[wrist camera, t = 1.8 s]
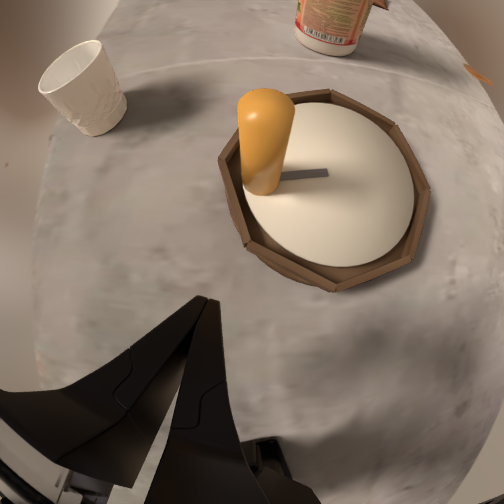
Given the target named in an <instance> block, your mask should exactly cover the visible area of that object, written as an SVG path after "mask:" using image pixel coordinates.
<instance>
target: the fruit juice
mask: <svg viewBox="0 0 504 504" xmlns="http://www.w3.org/2000/svg"><path fill="white" fill-rule="evenodd" d="M373 1H374V0H299V1H298V8H297V15H296V21H295V36H296V38H297V40H298V41H299V42H300V43H301V44H303V45H304V46H306V47H307V48H309V49H311V50H313V51H316V52H319V53H322V54H326V55H332V56H345V55H349V54H351V53H352V52H353V51H354V50H355V49H356V47H357V45H358V42H359V39H360V37H361V34H362V31H363V29H364V26H365V23H366V21H367V18H368V15H369V13H370V10H371V7H372V4H373Z"/></svg>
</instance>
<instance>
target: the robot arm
mask: <svg viewBox="0 0 504 504" xmlns="http://www.w3.org/2000/svg"><path fill="white" fill-rule="evenodd" d="M179 386H180V388H179ZM178 388H179V392H178V397H177V401H176V405H175V409H174V414H173V418H172V422H171V427H170V432H169V436H168V440H167V443H166V446H165V449H164V452H163V454H162V457H161V459H160V462H159V465H158V467H157V470H156V473H155V475H154V478H153V481H152V483H151V486H150V489H149V491H148V494H147V497H146V499H145V502H144V504H321V502H320V501H319V499H318V498H317V497H316V495H315V494H314V492H313V491H312V489H311V488H309V487H307V486H305V485H303V484H300V483H298V482H296V481H294V480H293V479H292V476H291V474H290V471H289V469H288V466H287V463H286V461H285V458H284V456H283V453H282V451H281V448H280V445H279V443H278V440H277V438H275V437H269V438H266V439H262V440H258V441H249V442H245V443H240V441H239V437H238V434H237V431H236V427H235V424H234V420H233V416H232V412H231V408H230V403H229V396H228V389H227V381H226V370H225V359H224V348H223V336H222V323H221V310H220V302H219V301H217V300H214V299H208V298H207V297H203V296H200V295H197V296H195V297H194V298H193V299H192V300H190V301H189V302H188V303H186V304H185V305H184V306H182V307H181V308H180V309H179V310H177V311H176V312H175V313H173V314H172V315H171V316H169V317H168V318H167V319H166V320H164V321H163V322H162V323H160V324H159V325H158V326H156V327H155V328H154V329H153V330H151V331H150V332H149V333H147V334H146V335H145V336H143V337H142V338H141V339H140V340H138V341H137V342H136V343H134V344H133V345H132V346H130V349H129V348H128V349H126V350H125V351H124V352H123V353H121V354H120V355H119V356H117V357H116V358H114V359H113V360H112V361H110V362H109V363H107V364H105V365H104V366H102V367H101V368H99V369H97V370H96V371H94V372H92V373H90V374H89V375H87V376H85V377H84V378H82V379H80V380H78V381H77V382H75V383H73V384H71V385H69V386H67V387H64V388H61V389H57V390H47V391H33V392H7V391H3V390H1V389H0V496H1V497H2V499H1V500H0V504H107V501H108V499H109V496H110V493H111V491H112V488H113V485H114V484H115V485H119V486H123V487H127V488H131V489H132V487H133V485H134V483H135V481H136V479H137V476H138V474H139V472H140V470H141V468H142V465H143V463H144V461H145V459H146V457H147V455H148V452H149V450H150V448H151V445H152V444H153V441H154V439H155V437H156V435H157V433H158V431H159V429H160V426H161V424H162V422H163V420H164V418H165V416H166V413H167V411H168V409H169V407H170V405H171V403H172V401H173V398H174V396H175V394H176V392H177V390H178ZM271 441H274V443H270V442H271ZM479 504H504V494H502V495H500V496H498V497H495V498H493V499H490V500H487V501H485V502H482V503H479Z"/></svg>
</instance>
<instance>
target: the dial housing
mask: <svg viewBox="0 0 504 504" xmlns="http://www.w3.org/2000/svg"><path fill="white" fill-rule="evenodd" d="M285 95H287V96H288V97H289V98H290V99H291V100H292V102H293V103H294V105H297V104H302V103H327V104H333V105H337V106H341V107H344V108H347V109H350V110H352V111H355V112H357V113H359V114H361V115H363V116H364V117H366V118H368V119H369V120H371V121H372V122H373V123H375V124H376V125H377V126H379V127H380V128H381V129H382V130H383V131H384V132H385V133H386V134H387V135H388V136H389V137H390V138H391V139H392V140H393V142H394V143H395V144H396V146H397V147H398V149H399V150H400V152H401V154H402V155H403V157H404V159H405V161H406V163H407V166H408V168H409V171H410V174H411V178H412V183H413V189H414V206H413V212H412V217H411V220H410V223H409V225H408V228H407V230H406V231H405V233H404V235H403V237H402V238H401V239H400V240H399V242H398V243H397V244H396V245H395V246H394V247H393V248H392V249H391V250H390V251H388V252H387V253H386V254H384V255H383V256H381V257H379V258H377V259H375V260H373V261H371V262H368V263H365V264H361V265H358V266H352V267H328V266H321V265H317V264H314V263H310V262H307V261H305V260H303V259H301V258H298V257H296V256H294V255H293V254H291V253H289V252H288V251H286V250H284V249H283V248H282V247H281V246H279V245H278V244H277V243H275V242H274V241H273V240H272V239H271V238H270V237H269V236H268V235H267V234H266V233H265V232H264V230H263V229H262V228H261V226H260V225H259V224H258V223H257V221H256V219H255V218H254V216H253V214H252V212H251V211H250V208H249V206H248V203H247V201H246V198H245V194H244V190H243V183H242V170H241V155H240V140H239V128H238V129H237V130H236V132H235V133H234V135H233V136H232V138H231V139H230V140H229V142H228V143H227V145H226V146H225V148H224V149H223V151H222V152H221V154H220V155H219V157H218V165H219V169H220V172H221V175H222V178H223V182H224V185H225V193H226V197H227V202H228V206H229V210H230V214H231V217H232V219H233V222H234V224H235V227H236V229H237V230H238V232H239V234H240V236H241V239H242V242H243V245H244V247H246V250H247V251H249V252H251V253H253V254H255V255H256V256H257V257H258V258H259V259H260V260H261V261H262V262H264V263H265V264H266V265H267V266H269V267H270V268H271V269H273V270H274V271H276V272H278V273H280V274H281V275H283V276H285V277H287V278H289V279H292V280H294V281H296V282H299V283H303V284H306V285H310V286H317V287H319V288H321V289H323V290H325V291H327V292H332V293H334V292H339V291H342V290H344V289H347V288H350V287H352V286H355V285H357V284H361V283H364V282H367V281H370V280H372V279H374V278H376V277H378V276H380V275H382V274H384V273H387V272H389V271H391V270H394V269H396V268H398V267H401V266H403V265H405V264H408V263H410V262H412V261H411V260H413V259H414V256H415V253H416V249H417V246H418V242H419V239H420V235H421V232H422V228H423V224H424V220H425V216H426V211H427V207H428V203H429V198H430V193H431V191H430V190H429V189H430V186H429V184H428V182H427V180H426V178H425V175H424V173H423V171H422V169H421V167H420V165H419V163H418V161H417V159H416V157H415V155H414V153H413V152H412V150H411V148H410V146H409V144H408V142H407V141H406V139H405V137H404V135H403V134H402V132H401V130H400V128H399V127H398V125H395V122H393V121H391V120H390V119H388V118H386V117H385V116H383V115H381V114H379V113H378V112H376V111H374V110H372V109H370V108H369V107H367V106H365V105H363V104H361V103H359V102H357V101H355V100H353V99H351V98H349V97H347V96H345V95H343V94H341V93H339V92H337V91H334V90H331V91H330V89H322V90H313V91H305V92H298V93H291V94H285Z"/></svg>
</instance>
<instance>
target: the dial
mask: <svg viewBox="0 0 504 504" xmlns="http://www.w3.org/2000/svg"><path fill="white" fill-rule="evenodd" d="M237 110H238V125H239V140H240V155H241V170H242V183H243V190H244V194H245V198H246V201H247V203H248V206H249V208H250V211H251V212H252V214H253V216H254V218H255V219H256V221H257V223H258V224H259V225H260V226H261V228H262V229H263V230H264V232H265V233H266V234H267V235H268V236H269V237H270V238H271V239H272V240H273V241H274V242H275V243H277V244H278V245H279V246H281V247H282V248H283V249H284V250H286V251H288V252H289V253H291V254H293V255H294V256H296V257H298V258H301V259H303V260H305V261H307V262H310V263H314V264H317V265H321V266H328V267H352V266H358V265H361V264H365V263H368V262H371V261H373V260H375V259H377V258H379V257H381V256H383V255H384V254H386V253H387V252H388V251H390V250H391V249H392V248H393V247H394V246H395V245H396V244H397V243H398V242H399V240H400V239H401V238H402V237H403V235H404V233H405V231H406V230H407V228H408V225H409V223H410V220H411V217H412V212H413V206H414V189H413V183H412V178H411V174H410V171H409V168H408V166H407V163H406V161H405V159H404V157H403V155H402V154H401V152H400V150H399V149H398V147H397V146H396V144H395V143H394V142H393V140H392V139H391V138H390V137H389V136H388V135H387V134H386V133H385V132H384V131H383V130H382V129H381V128H380V127H379V126H377V125H376V124H375V123H373V122H372V121H371V120H369V119H368V118H366V117H364V116H363V115H361V114H359V113H357V112H355V111H352V110H350V109H347V108H344V107H341V106H337V105H333V104H327V103H302V104H297V105H294V103H293V102H292V100H291V99H290V98H289V97H288V96H287V95H285V94H284V93H282V92H280V91H277V90H274V89H266V88H263V89H256V90H252V91H250V92H248V93H246V94H245V95H244V96H243V97H242V98H241V99H240V100H239V103H238V107H237Z"/></svg>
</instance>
